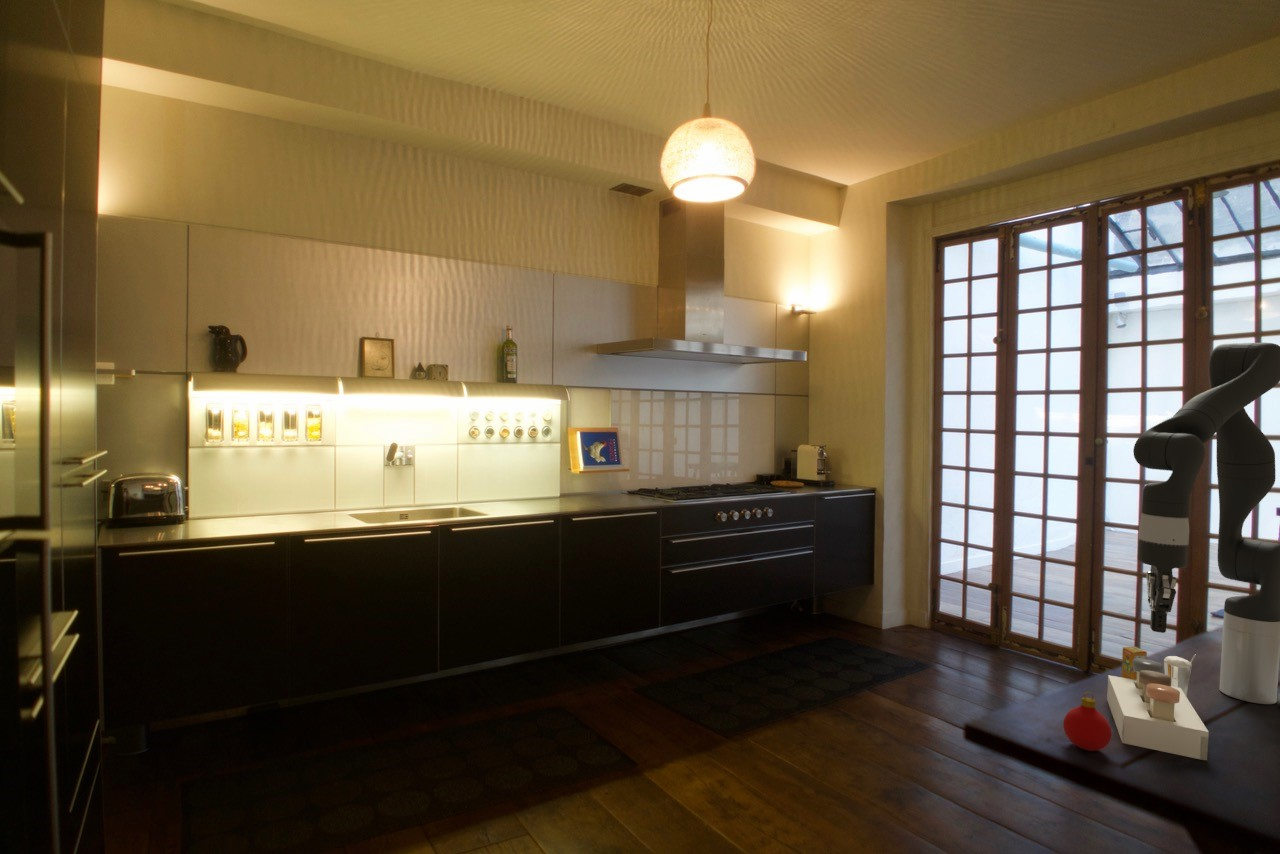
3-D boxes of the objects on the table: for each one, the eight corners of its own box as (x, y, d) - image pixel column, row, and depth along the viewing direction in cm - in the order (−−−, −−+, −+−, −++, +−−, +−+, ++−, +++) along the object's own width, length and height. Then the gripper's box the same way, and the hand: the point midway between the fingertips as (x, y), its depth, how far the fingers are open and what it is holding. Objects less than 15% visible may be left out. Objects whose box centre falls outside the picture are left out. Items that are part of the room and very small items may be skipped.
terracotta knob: (1142, 715, 129) (1144, 681, 128) (1174, 722, 126) (1176, 687, 126) (1146, 726, 124) (1148, 690, 124) (1180, 732, 122) (1182, 696, 122)
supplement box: (1118, 692, 148) (1121, 646, 148) (1133, 692, 148) (1136, 646, 148) (1130, 699, 145) (1133, 651, 145) (1146, 699, 145) (1149, 651, 145)
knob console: (1106, 699, 145) (1108, 675, 144) (1178, 712, 139) (1180, 687, 139) (1122, 742, 125) (1123, 715, 125) (1206, 760, 120) (1208, 731, 119)
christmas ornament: (1093, 739, 126) (1096, 684, 126) (1119, 759, 119) (1123, 701, 119) (1053, 738, 126) (1056, 683, 126) (1078, 757, 119) (1081, 699, 119)
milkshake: (1198, 707, 142) (1201, 658, 142) (1168, 704, 143) (1171, 655, 143) (1186, 698, 146) (1188, 651, 146) (1157, 695, 148) (1160, 648, 147)
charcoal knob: (1129, 687, 142) (1131, 656, 142) (1158, 693, 140) (1160, 661, 139) (1133, 696, 138) (1135, 664, 137) (1163, 701, 135) (1165, 669, 135)
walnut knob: (1135, 701, 135) (1137, 668, 135) (1166, 706, 133) (1168, 673, 133) (1139, 710, 131) (1141, 676, 131) (1171, 716, 129) (1173, 682, 128)
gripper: (1196, 547, 123) (1191, 645, 124) (1180, 536, 135) (1175, 625, 136) (1145, 542, 127) (1139, 637, 127) (1133, 531, 139) (1128, 618, 139)
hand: (1157, 630), depth 131 cm, fingers closed
